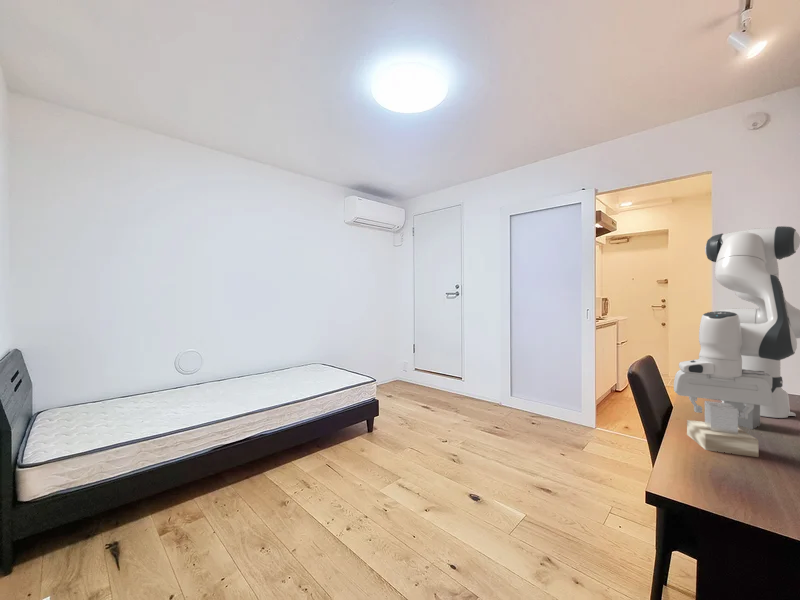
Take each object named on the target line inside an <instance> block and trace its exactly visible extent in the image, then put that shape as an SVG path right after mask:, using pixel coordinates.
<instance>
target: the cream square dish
mask: <svg viewBox="0 0 800 600" xmlns="http://www.w3.org/2000/svg"><path fill="white" fill-rule="evenodd" d="M686 435H687V436H688V437H689V438H691V440H693V441H694V442H695V443H697V444H698V446H700V447H701V448H703V449H704V450H705V451H711V452H712V451H713V452H717V451H718V453H724V452H725V454H731V453H732V455H738V456H739V455H740V456H747V457H755V458H759V455H760V454H759V452H760V451H759V439H757V437H754V436H753V435H751V434H749V433H747V432H746V431H744V430H743V429H741V428H739V427H738V434H731V433H725V432H718V431H712V430H710V429H709V428H708V427H707V426H706V425H705V421H700V420H693V419H687V420H686Z"/></svg>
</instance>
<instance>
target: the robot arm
mask: <svg viewBox="0 0 800 600" xmlns="http://www.w3.org/2000/svg"><path fill="white" fill-rule="evenodd" d="M799 247H800V234H799V232H798V231H797V230H796V229H795V228H794V227H792V226H786V225H783V226H779V225H778V226H776V227H760V228H748V229H744V230H738V231H732V232H729V233H719V234H718V233H717V234H714V235H712V236H711V237H709V239H707V241H706V243H705V246H704V253H705V255H706V258H707V259H708V260H709V261H711V262H712V263H715V267H714V277H715V280H716V281H717V282H718V284H720V285H721V286H722V287H724V288H726V289H728V290H731V291H733V292H734V293H735V295H736V296H737V297H738V298H739V299H741V300H743V301H745V302H750V303H752V304H754V305H756V306H757V307H758V308H740V307H739V308H725V309H718V310H716V311H708V312H705V313H703V314H702V315H701V318H700V323H699V331H698V343H699V345H700V350H699V353H698V359H690V360H684V361H680V362H679V363H678V369H679V370H678V371H676V373H675V375H674V378H673V379H674V380H673V392H674V393H676V394H677V395H678V396H681V397H682V396H683V397H688V399H689V401H690V402H691V404H692V405H693V411H694V412H695V413H699V414H702V413H703V407H702V406H701V405H698V404H697V402H698V398H699V399H707V400H715V401H716V400H717V401H720V402H721V401H722V402H721V403H724V401H731V402H739V403H744V405H745V406H746V407H745V408H744V409H743V411H738V413H739V414H738V417H739V418H741V419H748V413H750V412H751V411H752V410H753V409H754V404H756V405H760V417H766V418H767V417H768V418H774V419H775V418H776V419H778V418H779V419H783V418H784V419H785V418H788V416H795V417H796V416H797V415H796V413H795V412H793V411H790V410H791V408H790V399H789V398H790V397H789V393H788V392H787V391H786V390H784V389H783V387H784V386H783V383H784V381H783V376H781V360H784V359H787V358H789V357H791V356H793V355H794V354H796V350H797V349H798V339H800V309H799V308H797V307H795V306H793V305H792V304H791V303H790V302H788V301H787V299H786V298H785V293H784V290H783V286H782V283H781V281H780V276H779V275H780V274H779V273H780V272H779V262H778V261H779V260H783V259H785V258H789V257H791V256H792V255H794V254H796V252H797V250H798V248H799Z"/></svg>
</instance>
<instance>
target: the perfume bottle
mask: <svg viewBox="0 0 800 600" xmlns="http://www.w3.org/2000/svg"><path fill="white" fill-rule="evenodd" d="M724 403H727V404H731V405H732V406H734V407H735V408H737V409H738V411H743V409H744V408H745V407H746V406H745V405H744V403H739V402H731V401H724ZM738 414H739V413H738ZM738 425H739V426H738V427H742V426H743V428H746V427H747V428H746V429H751V430H754V429H757V426H758V427H760V426H761V416H760V405H756V404H754V409H753V410H752V411H751V412H750V413H748V419H741V418H739V417H738Z"/></svg>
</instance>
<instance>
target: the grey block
mask: <svg viewBox="0 0 800 600" xmlns="http://www.w3.org/2000/svg"><path fill="white" fill-rule="evenodd" d="M704 422H705V425H706V426H707V427H708V428H709V429H710V430H712V431H718V432H725V433H731V434H738V428H739V426H738V409H737V408H735V407H734V406H732V405H731V404H727V403H722V402H717V401H710V400H709V401H708V400H704Z"/></svg>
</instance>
